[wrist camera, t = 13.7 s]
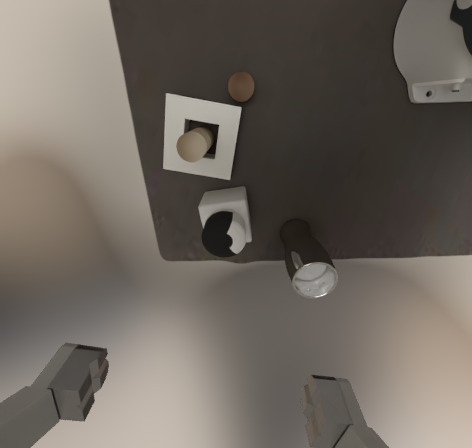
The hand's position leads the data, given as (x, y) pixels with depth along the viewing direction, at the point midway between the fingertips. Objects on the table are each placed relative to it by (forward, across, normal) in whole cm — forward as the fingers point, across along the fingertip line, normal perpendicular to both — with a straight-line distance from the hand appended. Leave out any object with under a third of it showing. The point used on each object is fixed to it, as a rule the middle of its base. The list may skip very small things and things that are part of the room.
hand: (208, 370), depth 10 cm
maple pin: (+37, +6, -4) cm, 38 cm away
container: (+37, 0, +8) cm, 38 cm away
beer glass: (+37, -14, +11) cm, 41 cm away
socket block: (+37, +6, -4) cm, 38 cm away
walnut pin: (+37, +1, -12) cm, 39 cm away
